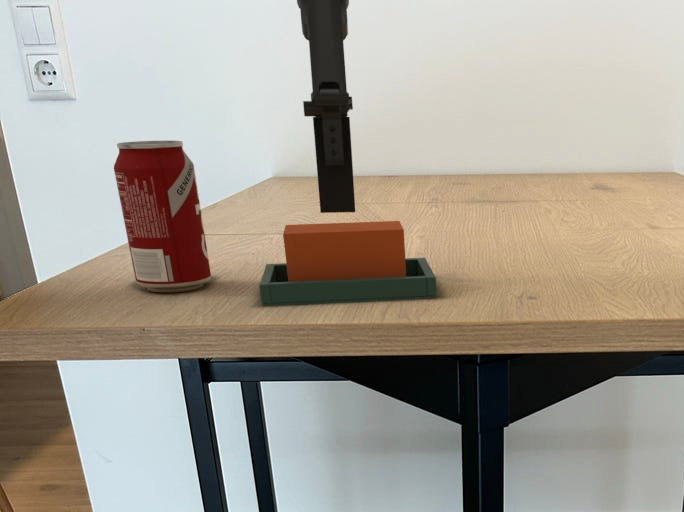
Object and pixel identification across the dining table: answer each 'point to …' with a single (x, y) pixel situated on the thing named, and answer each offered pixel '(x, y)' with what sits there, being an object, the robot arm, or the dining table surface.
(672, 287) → the dining table surface
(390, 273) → the orange rectangular block
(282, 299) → the dark green tray
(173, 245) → the soda can
